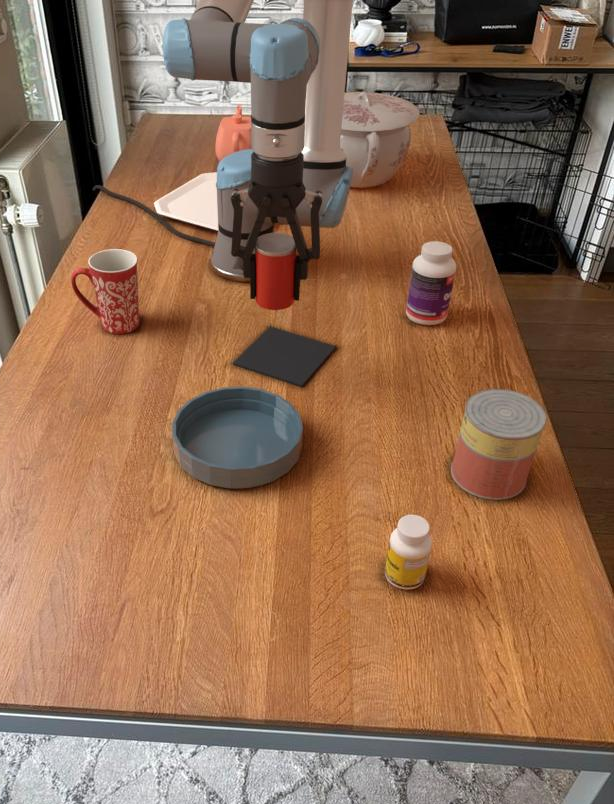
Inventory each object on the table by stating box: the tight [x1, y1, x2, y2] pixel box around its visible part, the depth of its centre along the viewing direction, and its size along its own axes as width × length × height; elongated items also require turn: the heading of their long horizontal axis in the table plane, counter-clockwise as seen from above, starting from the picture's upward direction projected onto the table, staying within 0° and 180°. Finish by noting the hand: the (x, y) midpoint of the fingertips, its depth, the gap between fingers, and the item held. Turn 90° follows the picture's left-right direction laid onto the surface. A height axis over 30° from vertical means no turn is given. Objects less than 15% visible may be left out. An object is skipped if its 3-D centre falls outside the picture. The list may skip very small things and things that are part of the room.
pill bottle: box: [405, 240, 457, 326], centre depth 147 cm, size 8×8×14 cm
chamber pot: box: [340, 91, 421, 189], centre depth 195 cm, size 28×28×21 cm
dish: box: [171, 385, 304, 490], centre depth 122 cm, size 20×20×4 cm
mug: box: [70, 248, 140, 335], centre depth 146 cm, size 13×9×14 cm
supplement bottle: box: [384, 514, 433, 590], centre depth 101 cm, size 5×5×10 cm
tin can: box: [255, 232, 297, 311], centre depth 124 cm, size 7×7×10 cm
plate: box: [153, 171, 218, 233], centre depth 188 cm, size 29×29×2 cm
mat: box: [232, 326, 337, 388], centre depth 142 cm, size 14×14×1 cm
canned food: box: [450, 388, 548, 501], centre depth 115 cm, size 11×11×12 cm
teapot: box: [214, 104, 251, 162], centre depth 206 cm, size 20×12×12 cm, turn 178°
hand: (275, 295), depth 127 cm, fingers closed on tin can, 6 cm apart
